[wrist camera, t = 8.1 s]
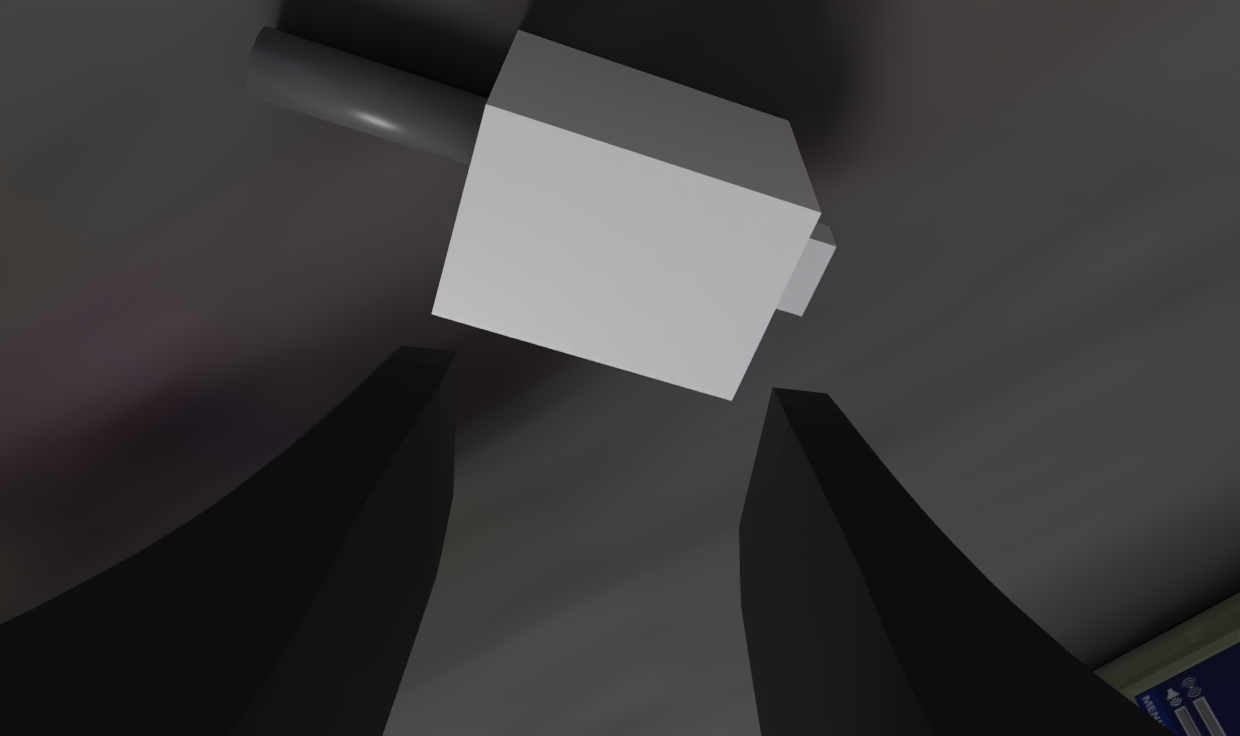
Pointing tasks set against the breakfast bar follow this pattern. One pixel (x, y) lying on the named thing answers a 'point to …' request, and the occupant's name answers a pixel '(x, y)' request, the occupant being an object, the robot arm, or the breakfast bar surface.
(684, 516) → the breakfast bar surface
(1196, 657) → the handheld radio
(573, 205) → the plug
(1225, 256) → the breakfast bar surface
